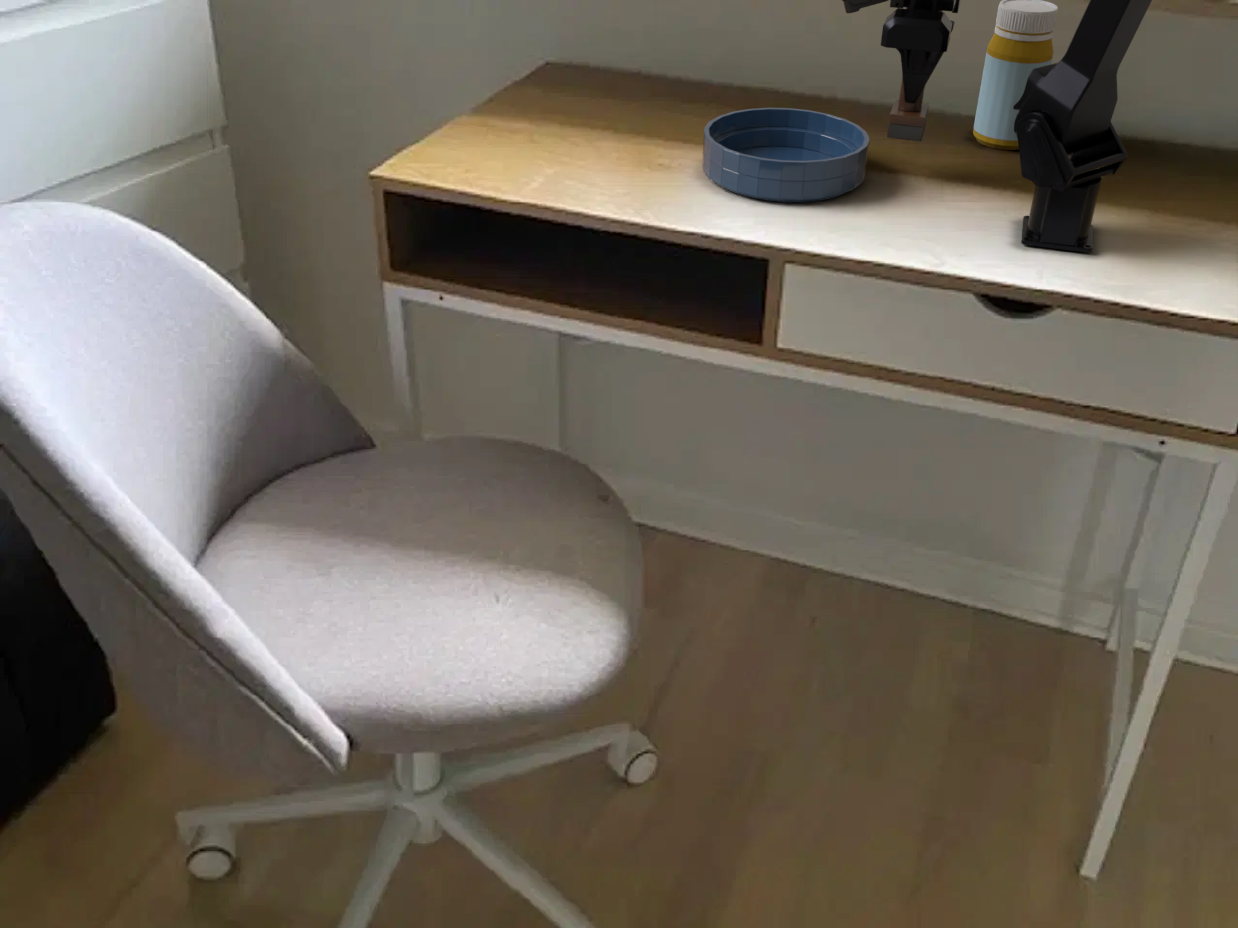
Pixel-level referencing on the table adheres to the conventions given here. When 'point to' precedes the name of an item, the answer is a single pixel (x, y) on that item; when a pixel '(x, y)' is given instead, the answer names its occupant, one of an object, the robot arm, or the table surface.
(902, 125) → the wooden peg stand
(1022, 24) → the bottle
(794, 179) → the bowl
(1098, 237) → the table surface
